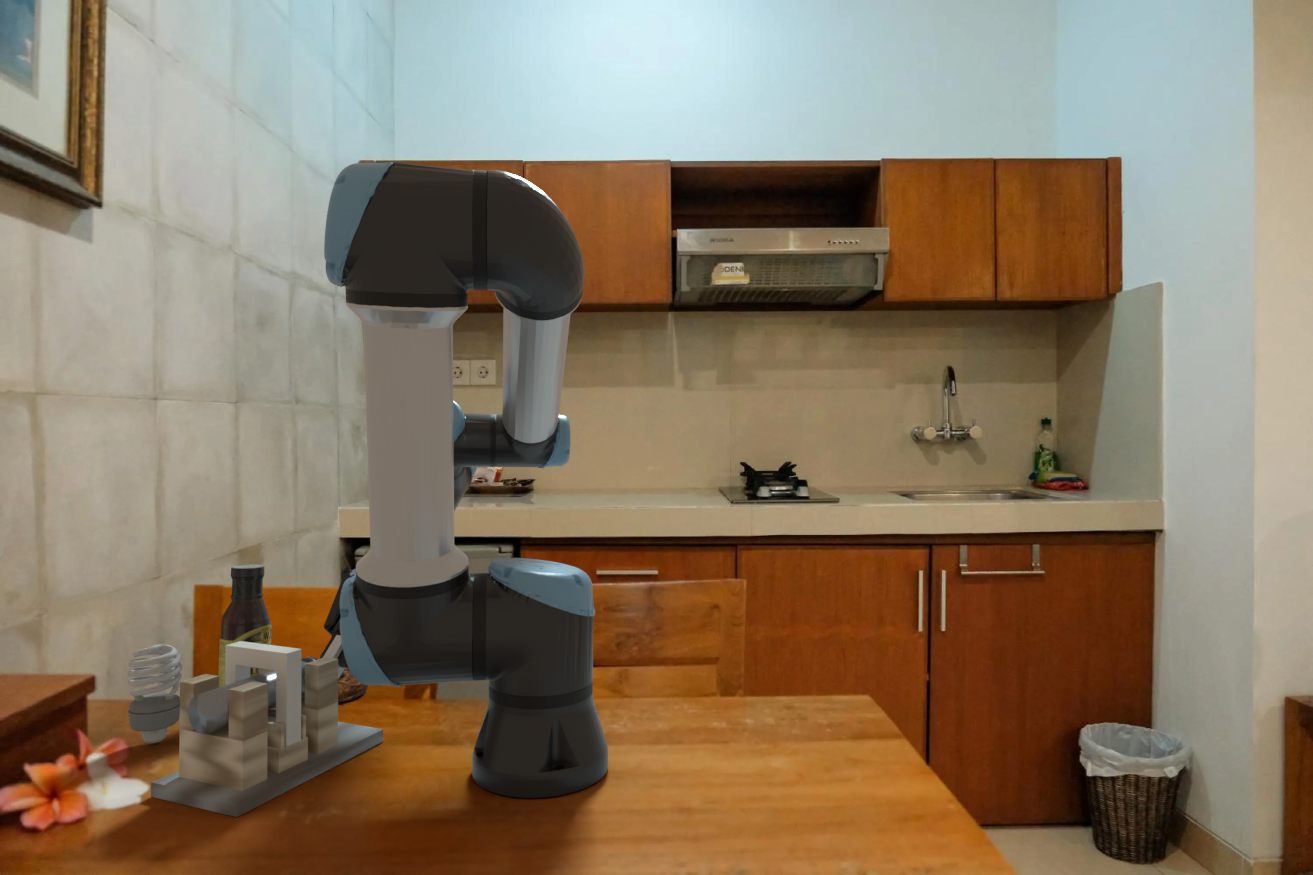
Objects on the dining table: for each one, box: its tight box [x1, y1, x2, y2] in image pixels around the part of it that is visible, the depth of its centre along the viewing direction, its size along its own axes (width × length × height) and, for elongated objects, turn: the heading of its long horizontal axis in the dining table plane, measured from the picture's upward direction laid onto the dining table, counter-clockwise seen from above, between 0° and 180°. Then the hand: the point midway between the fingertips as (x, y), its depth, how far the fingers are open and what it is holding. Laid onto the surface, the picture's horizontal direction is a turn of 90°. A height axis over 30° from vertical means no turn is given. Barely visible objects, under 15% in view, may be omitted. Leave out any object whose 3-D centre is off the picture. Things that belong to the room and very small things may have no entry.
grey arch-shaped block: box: [225, 641, 303, 747], centre depth 88 cm, size 9×2×10 cm, turn 69°
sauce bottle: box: [218, 564, 273, 688], centre depth 107 cm, size 6×6×20 cm
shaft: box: [188, 655, 319, 734], centre depth 87 cm, size 14×4×4 cm, turn 159°
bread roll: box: [303, 668, 369, 704], centre depth 115 cm, size 11×11×5 cm
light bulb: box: [126, 643, 183, 745], centre depth 96 cm, size 6×6×12 cm
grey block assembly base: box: [150, 657, 384, 818], centre depth 89 cm, size 12×21×12 cm, turn 159°
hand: (318, 688), depth 95 cm, fingers closed
